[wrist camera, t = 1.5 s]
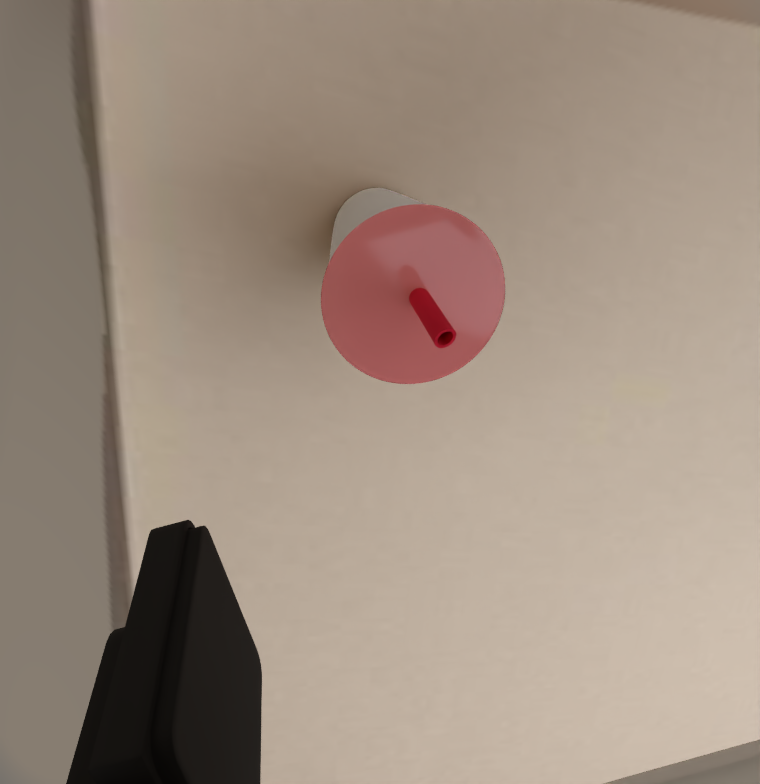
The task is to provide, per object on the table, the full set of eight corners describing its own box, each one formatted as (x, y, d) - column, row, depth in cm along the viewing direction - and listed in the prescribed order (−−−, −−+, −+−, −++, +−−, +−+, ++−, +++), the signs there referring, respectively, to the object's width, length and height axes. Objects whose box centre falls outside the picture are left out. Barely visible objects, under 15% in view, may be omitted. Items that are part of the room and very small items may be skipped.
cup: (463, 253, 29) (572, 367, 18) (352, 318, 30) (394, 466, 19) (402, 134, 27) (485, 185, 16) (282, 207, 27) (285, 304, 17)
